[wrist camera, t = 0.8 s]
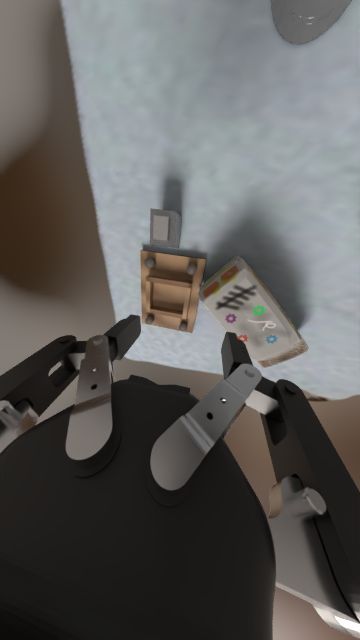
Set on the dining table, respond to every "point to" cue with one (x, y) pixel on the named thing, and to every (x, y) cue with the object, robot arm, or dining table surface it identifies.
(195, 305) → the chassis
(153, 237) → the block
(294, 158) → the dining table surface
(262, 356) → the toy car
